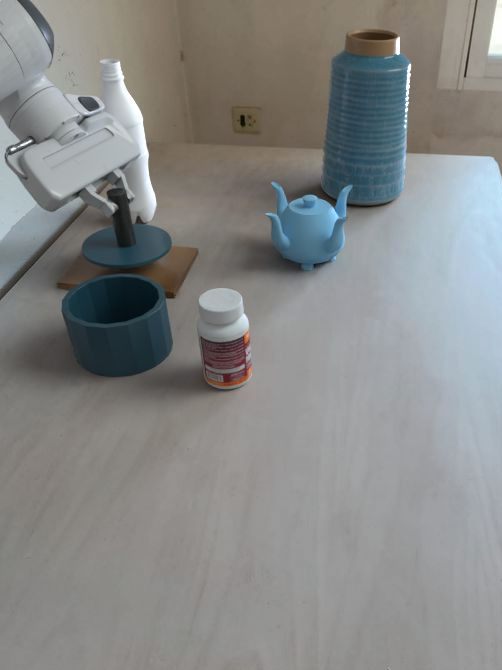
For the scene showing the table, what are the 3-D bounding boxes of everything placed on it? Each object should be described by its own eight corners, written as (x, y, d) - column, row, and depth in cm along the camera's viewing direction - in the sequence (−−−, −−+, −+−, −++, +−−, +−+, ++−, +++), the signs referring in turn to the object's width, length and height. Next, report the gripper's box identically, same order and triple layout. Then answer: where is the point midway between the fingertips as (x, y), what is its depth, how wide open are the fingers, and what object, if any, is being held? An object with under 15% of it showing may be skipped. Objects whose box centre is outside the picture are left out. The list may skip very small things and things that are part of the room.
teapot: (345, 279, 99) (348, 218, 92) (261, 273, 99) (259, 212, 92) (349, 241, 108) (352, 183, 101) (273, 236, 109) (271, 178, 102)
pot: (60, 371, 80) (44, 322, 75) (97, 317, 89) (85, 270, 84) (156, 380, 79) (146, 331, 74) (183, 325, 88) (176, 277, 83)
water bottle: (154, 227, 110) (127, 68, 93) (113, 226, 110) (78, 66, 93) (162, 210, 115) (138, 56, 98) (123, 209, 115) (92, 54, 98)
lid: (68, 268, 92) (51, 208, 86) (102, 227, 102) (89, 170, 96) (157, 275, 91) (146, 215, 85) (182, 233, 101) (174, 176, 95)
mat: (58, 288, 95) (56, 282, 94) (93, 245, 105) (92, 239, 104) (174, 298, 93) (173, 292, 93) (198, 253, 104) (198, 248, 103)
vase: (326, 172, 130) (330, 21, 112) (405, 178, 129) (422, 26, 111) (315, 205, 118) (318, 42, 100) (401, 212, 117) (420, 48, 99)
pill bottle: (259, 384, 79) (255, 307, 71) (212, 396, 77) (202, 318, 70) (242, 357, 83) (237, 281, 76) (197, 368, 81) (187, 291, 74)
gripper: (4, 136, 79) (86, 225, 83) (104, 93, 93) (171, 171, 97) (-12, 166, 83) (67, 249, 87) (86, 120, 97) (151, 194, 101)
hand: (122, 207), depth 92 cm, fingers closed on lid, 3 cm apart
